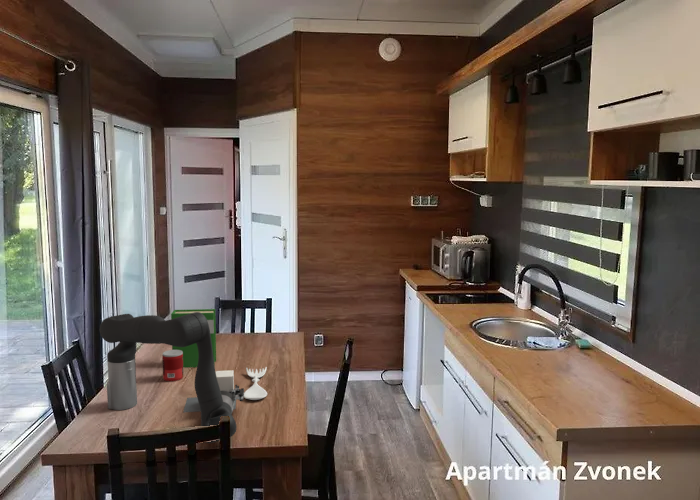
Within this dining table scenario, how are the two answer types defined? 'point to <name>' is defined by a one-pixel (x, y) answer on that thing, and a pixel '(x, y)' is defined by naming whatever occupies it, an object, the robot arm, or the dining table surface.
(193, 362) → the hardback book
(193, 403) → the mat
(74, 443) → the dining table surface
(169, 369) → the canned food
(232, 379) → the white rectangular block
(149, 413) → the dining table surface
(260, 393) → the white piece
